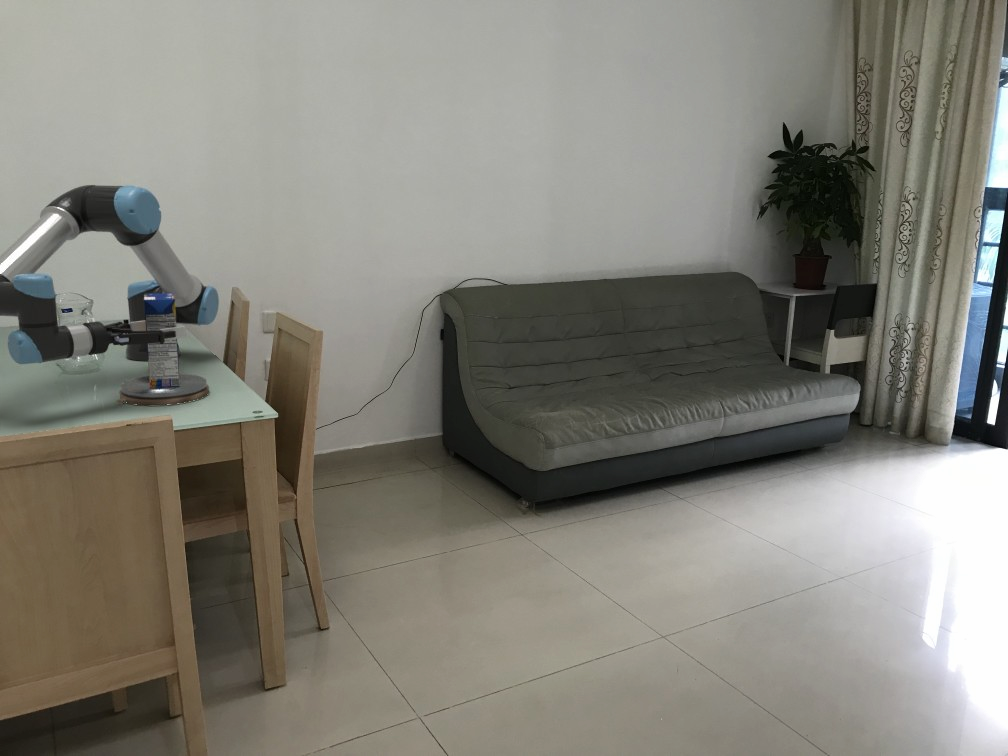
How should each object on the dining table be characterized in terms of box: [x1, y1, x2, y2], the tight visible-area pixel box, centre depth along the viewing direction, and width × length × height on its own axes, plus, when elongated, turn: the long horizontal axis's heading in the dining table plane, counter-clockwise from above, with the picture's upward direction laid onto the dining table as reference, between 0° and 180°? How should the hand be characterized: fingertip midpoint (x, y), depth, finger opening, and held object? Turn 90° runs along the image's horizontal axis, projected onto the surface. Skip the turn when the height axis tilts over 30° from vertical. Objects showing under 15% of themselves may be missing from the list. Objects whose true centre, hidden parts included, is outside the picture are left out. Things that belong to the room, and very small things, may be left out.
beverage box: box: [144, 293, 180, 389], centre depth 203 cm, size 7×11×22 cm, turn 23°
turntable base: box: [116, 384, 210, 406], centre depth 205 cm, size 23×21×2 cm
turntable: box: [120, 373, 208, 399], centre depth 205 cm, size 20×20×2 cm
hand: (170, 328), depth 204 cm, fingers open, 13 cm apart
